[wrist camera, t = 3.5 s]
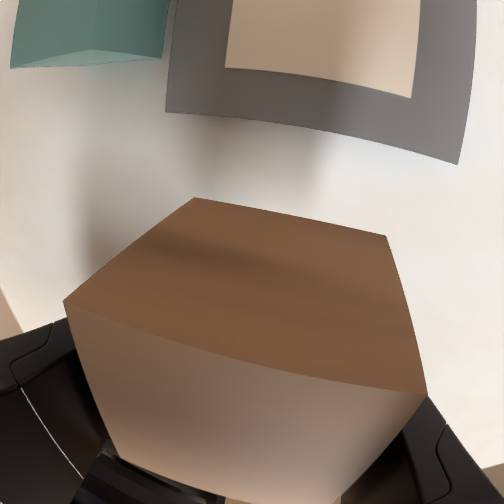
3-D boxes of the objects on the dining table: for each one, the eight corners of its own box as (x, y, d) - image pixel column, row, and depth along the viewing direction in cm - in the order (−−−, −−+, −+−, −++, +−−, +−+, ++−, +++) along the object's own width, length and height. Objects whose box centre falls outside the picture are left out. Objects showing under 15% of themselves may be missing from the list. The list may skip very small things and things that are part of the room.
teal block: (162, 59, 12) (90, 49, 8) (82, 66, 13) (9, 69, 9) (176, -34, 10) (114, -71, 6) (94, -16, 11) (27, -33, 6)
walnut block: (336, 374, 10) (319, 514, 6) (191, 339, 11) (120, 458, 6) (385, 235, 8) (428, 394, 3) (194, 197, 8) (62, 300, 4)
